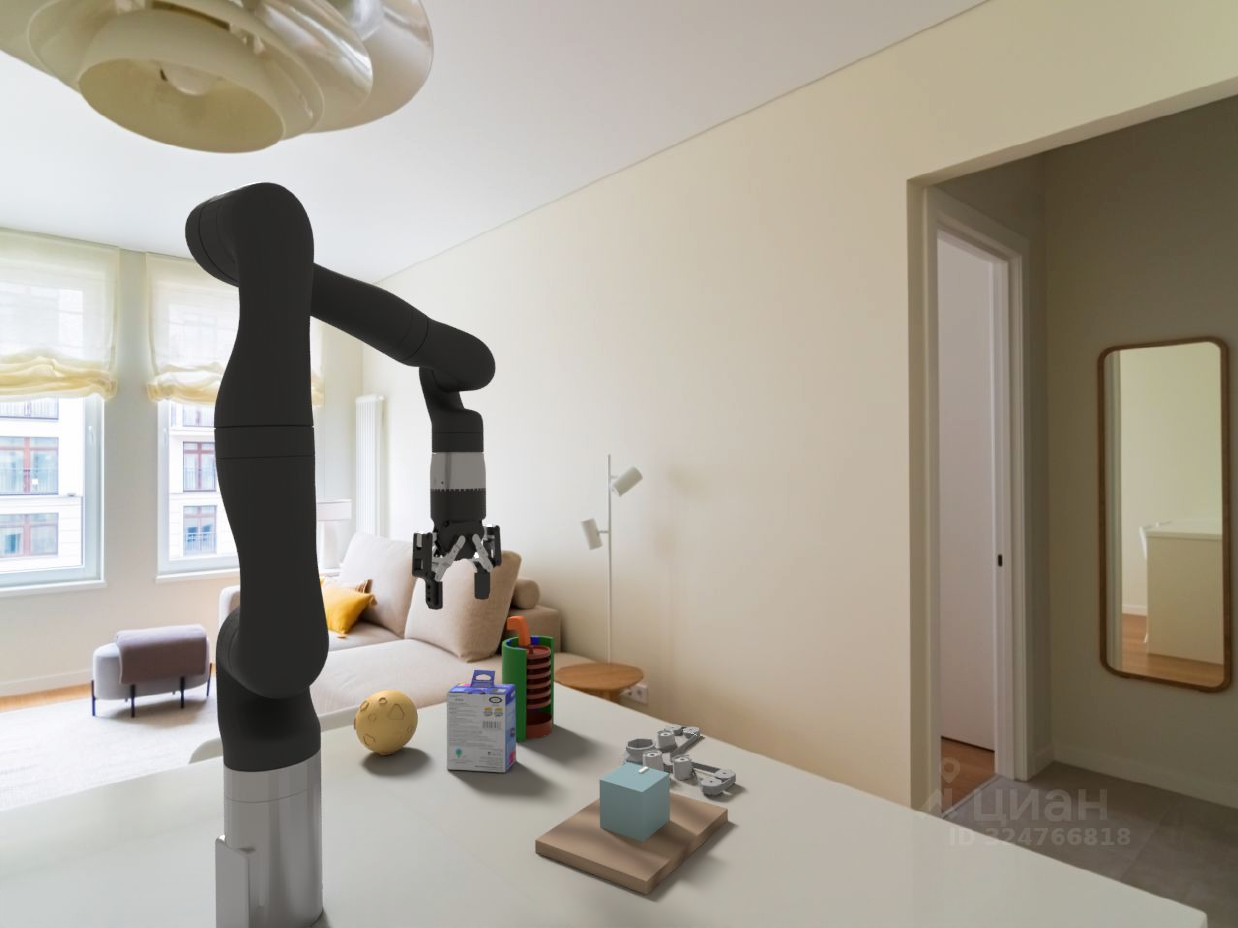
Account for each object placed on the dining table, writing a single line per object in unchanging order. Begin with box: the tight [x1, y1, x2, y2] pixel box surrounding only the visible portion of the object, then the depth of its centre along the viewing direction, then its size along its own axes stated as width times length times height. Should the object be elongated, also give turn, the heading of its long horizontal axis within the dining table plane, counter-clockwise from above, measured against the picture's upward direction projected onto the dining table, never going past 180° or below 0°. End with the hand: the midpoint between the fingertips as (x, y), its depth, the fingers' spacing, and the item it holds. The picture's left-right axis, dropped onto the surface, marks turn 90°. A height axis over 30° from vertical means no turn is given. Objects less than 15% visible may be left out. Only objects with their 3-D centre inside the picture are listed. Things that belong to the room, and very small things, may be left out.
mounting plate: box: [534, 791, 729, 896], centre depth 93 cm, size 20×16×2 cm
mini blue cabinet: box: [599, 762, 671, 842], centre depth 92 cm, size 6×6×6 cm
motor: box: [501, 615, 555, 742], centre depth 129 cm, size 10×9×20 cm
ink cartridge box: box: [446, 669, 517, 773], centre depth 115 cm, size 10×6×14 cm, turn 81°
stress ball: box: [353, 689, 419, 756], centre depth 120 cm, size 10×10×10 cm
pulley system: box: [622, 724, 737, 796], centre depth 116 cm, size 27×5×15 cm
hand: (459, 603), depth 100 cm, fingers open, 8 cm apart
